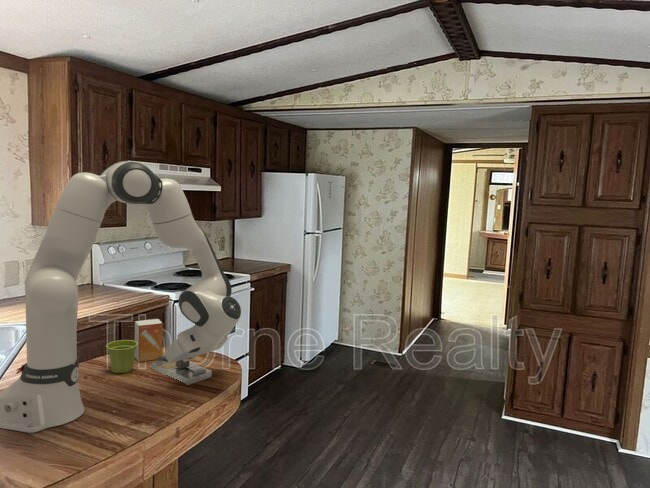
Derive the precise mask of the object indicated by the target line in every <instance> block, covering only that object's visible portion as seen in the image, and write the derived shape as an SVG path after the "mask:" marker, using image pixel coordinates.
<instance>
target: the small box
mask: <svg viewBox="0 0 650 488" xmlns="http://www.w3.org/2000/svg"><path fill="white" fill-rule="evenodd" d="M163 325H164V324H163V322H162V321H161V320H160V318H152V319H144V320H136V321H134V341H136V342H137V343H138V345H137V346H136V350H135V354H134V359H136V360H137V362H138V363H143V362H147V361H157V357H161V356H163Z"/></svg>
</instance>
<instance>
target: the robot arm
mask: <svg viewBox="0 0 650 488" xmlns="http://www.w3.org/2000/svg"><path fill="white" fill-rule="evenodd" d="M116 201H117V202H120V203H124V204H131V205H143V206H144V207H145V208H146V210H147V212H148V213H149V217H150V221H151V223H152V227H153V229H154V232H155V234H156V235H155V236H156V237H157V239H158V240H159V241H160V243H162V244H163V245H165V246H167V247H170V248H173V249H174V248H175V249H187V250H189V251H190V252H191V253H192V254H193V256H194V258H195V261H196V262H197V265H198V268H199V270H200V272H201V278H200V280H199V281H197V282H196V283H194V284H192V285H191V286H189V287H188V288H186V289H185V290H183V291H182V292H181V293H180V294H179V297H178V307H179V310H180V312H181V314H182V315H183V317H185V318H186V319H187V320H188V321H190V323H193V324H195V325H193V326H191V327H189V328H188V329H185V330H183V331H181V332H178V334H177V335H176V337H177V338H176V339H175V340H173V341H172V342H171V344H170V345H168V347H167V349H166V350H165V352H164V355H165V356H166V359H167V360H168V362H169V363H174V362H177V361H180V360H183V362H187V361H189V362H191V361H192V360H194V358H196V357H198V356H200V355H203V354H207V353H210V352H213V351H217V350H219V349H221V348H222V347H223V346H224V345H225V344H226V343H227V341H228V336H229V335H230V334H231V331H232V330H233V329H234V328H235V326H236V325H237V323H238V322H239V321H240V318H241V315H242V307H241V305H240V303H239V302H238V300H237V299H236V298H234V297H232V284H231V281H230V279H229V278H228V277H227V275H226V274H225V272H224V271H223V269H222V267H221V264H220V262H219V260H218V257H217V255H216V254H215V250H214V249H213V246H212V244H211V242H210V240H209V237H208V236H207V234H206V232H205V231H204V230H203V229H202V228H201V227H199V226H198V224H197V222H196V220H195V218H194V216H193V213H192V210H191V207H190V203H189V202H188V198H187V197H186V195H185V193H184V190H183V189H182V187H181V185H180V184H179V182H178V181H176V179H172V178H160V177H158V176H157V175H156V174H155V173H154V171H152V169H151V168H149V167H148V166H146V165H145V164H143V163H141V162H138V161H131V160H123V161H118V162H115V163H113V164H111V165H109V166H107V167H106V168H105V169H103V171H102V172H101V171H100V173H98V174H94V173H92V172H85V171H83V172H78V173H75V174H74V175H72V176H71V178H70V179H69V181H68V182H67V184H66V185H65V187H64V188H63V190H62V192H61V194H60V196H59V199H58V200H57V203H56V205H55V208H54V210H53V213H52V215H51V218H50V220H49V222H48V225H47V228H46V231H45V234H44V236H43V238H42V240H41V242H40V244H39V247H38V249H37V252H36V253H35V256H34V257H33V260H32V263H31V266H30V268H29V270H28V272H27V274H26V277H25V281H24V291H25V297H24V298H25V330H26V331H25V333H26V335H25V337H26V338H25V340H26V342H25V343H26V345H25V346H26V362H25V363H24V364H22V365H21V367H19V368H17V369H15V371H16V373H15V374H16V375H17V374H20V373H21V374H20V377H19V378H18V379H16V380H14V382H13V383H11V384H10V385H8V386H7V387H6V388H5V389H3V390H2V391H1V392H0V429H4V430H10V431H17V432H23V433H28V434H33V433H37V432H41V431H43V430H45V429H49V428H53V427H57V426H61V425H65V424H67V423H70V422H73V421H75V420H77V419H78V418H79V417H81V416H82V415H83V414H84V412H85V407H84V404H83V400H82V397H81V393H80V387H79V386H80V385H79V378H80V362H79V361H80V360H79V358H78V354H77V351H78V349H77V348H78V346H77V328H78V327H77V325H78V309H79V307H78V305H79V287H78V284H77V279H78V277H79V274H80V272H81V270H82V268H83V265H84V264H85V261H86V260H87V259H88V256H89V254H90V253H91V251H92V249H93V246H94V243H95V240H96V238H97V235H98V233H99V230H100V227H101V225H102V223H103V220H104V217H105V213H106V211H107V210H108V208H109V206H111V205H112V204H113V203H114V202H116Z"/></svg>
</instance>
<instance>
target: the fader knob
mask: <svg viewBox="0 0 650 488" xmlns="http://www.w3.org/2000/svg"><path fill="white" fill-rule="evenodd" d="M189 362H190V361H187V362H183V360H180V361H177V362H176V367H178V368H181V369H183V368H186V367H189Z"/></svg>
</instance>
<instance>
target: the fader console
mask: <svg viewBox="0 0 650 488" xmlns="http://www.w3.org/2000/svg"><path fill="white" fill-rule="evenodd" d="M150 370H153V371H155V372H157V373H160V374H162V375H165V376H167V375H168V376H167V377H169V376H170V377H169V378H171V377H172V379H173V378H174V380H176V379H177V380H176V381H178V380H179V381H178V382H180V381H181V382H180V383H182V382H183V384H184V385H187V386H189V385H192V384H195V383H197V382H201V381H203V380H207V379H209V378H211V377H212V375H213V373H212V372H213V371H212V370H211V369H208V368H206V367H203V366H202V365H201V366H200V365H198V364H195V363H193V362H191V361H189V367H186V368H183V369H181V368H178V367H176V362H174V363H169V362H168V360H167V359H166V356H165V354H164V355H162V356H161V357H157V359H156V360H153V361H151V362H150Z"/></svg>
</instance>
